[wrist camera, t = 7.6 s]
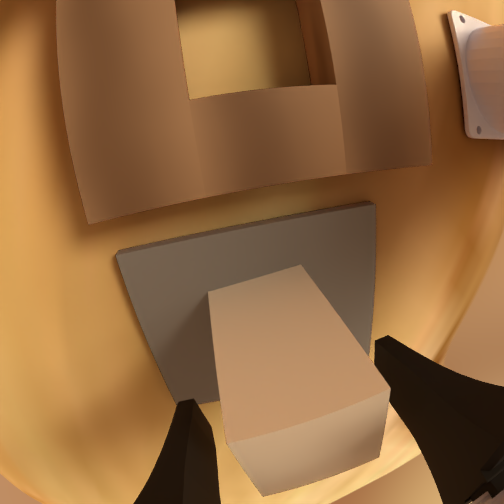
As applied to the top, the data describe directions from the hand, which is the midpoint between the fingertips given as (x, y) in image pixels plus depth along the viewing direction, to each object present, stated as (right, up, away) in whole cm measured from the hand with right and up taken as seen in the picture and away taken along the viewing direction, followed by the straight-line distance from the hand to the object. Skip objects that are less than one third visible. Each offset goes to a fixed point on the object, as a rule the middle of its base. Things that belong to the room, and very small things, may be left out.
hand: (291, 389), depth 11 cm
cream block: (-1, +2, +4) cm, 5 cm away
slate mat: (-1, +2, +5) cm, 5 cm away
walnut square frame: (-2, +14, 0) cm, 14 cm away
